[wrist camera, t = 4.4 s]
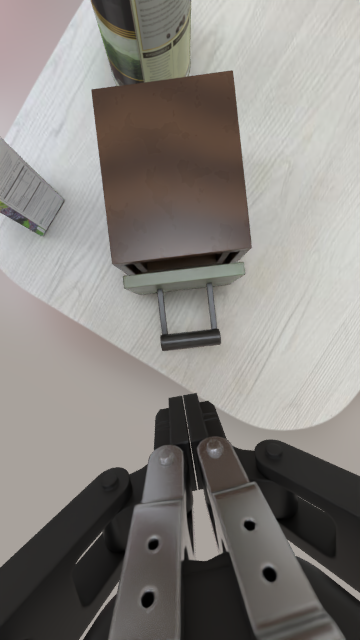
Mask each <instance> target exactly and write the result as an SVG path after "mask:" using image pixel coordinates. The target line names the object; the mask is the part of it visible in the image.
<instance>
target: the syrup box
mask: <svg viewBox="0 0 360 640" xmlns="http://www.w3.org/2000/svg"><path fill="white" fill-rule="evenodd" d="M63 201H64V199H63V198H62V197H61V196H60V195H59V194H58V193H57V192H56V191H55V190H54V189H53V188H52V187H51V186H50V185H49V184H48V183H47V182H46V181H45V180H44V179H43V178H42V177H41V176H40V175H39V174H38V173H37V172H35V171H34V170H33V169H32V168H31V167H30V166H29V165H28V164H27V163H26V162H25V161H24V160H23V159H22V158H21V157H20V156H19V155H18V154H17V153H16V152H15V151H14V150H13V149H12V148H11V147H10V146H9V145H8V144H7V143H6V142H5V141H4V140H3V139H2V138H1V137H0V213H2V214H4V215H6V216H7V217H9V218H11V219H13V220H14V221H16V222H18V223H20V224H21V225H23V226H25V227H27V228H28V229H30V230H32V231H34V232H35V233H37V234H39V235H40V236H43V235H44V233H45V232H46V230H47V228H48V227H49V225H50V223H51V222H52V220H53V218H54V217H55V215H56V213H57V211H58V210H59V208H60V206H61V204H62V203H63Z"/></svg>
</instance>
